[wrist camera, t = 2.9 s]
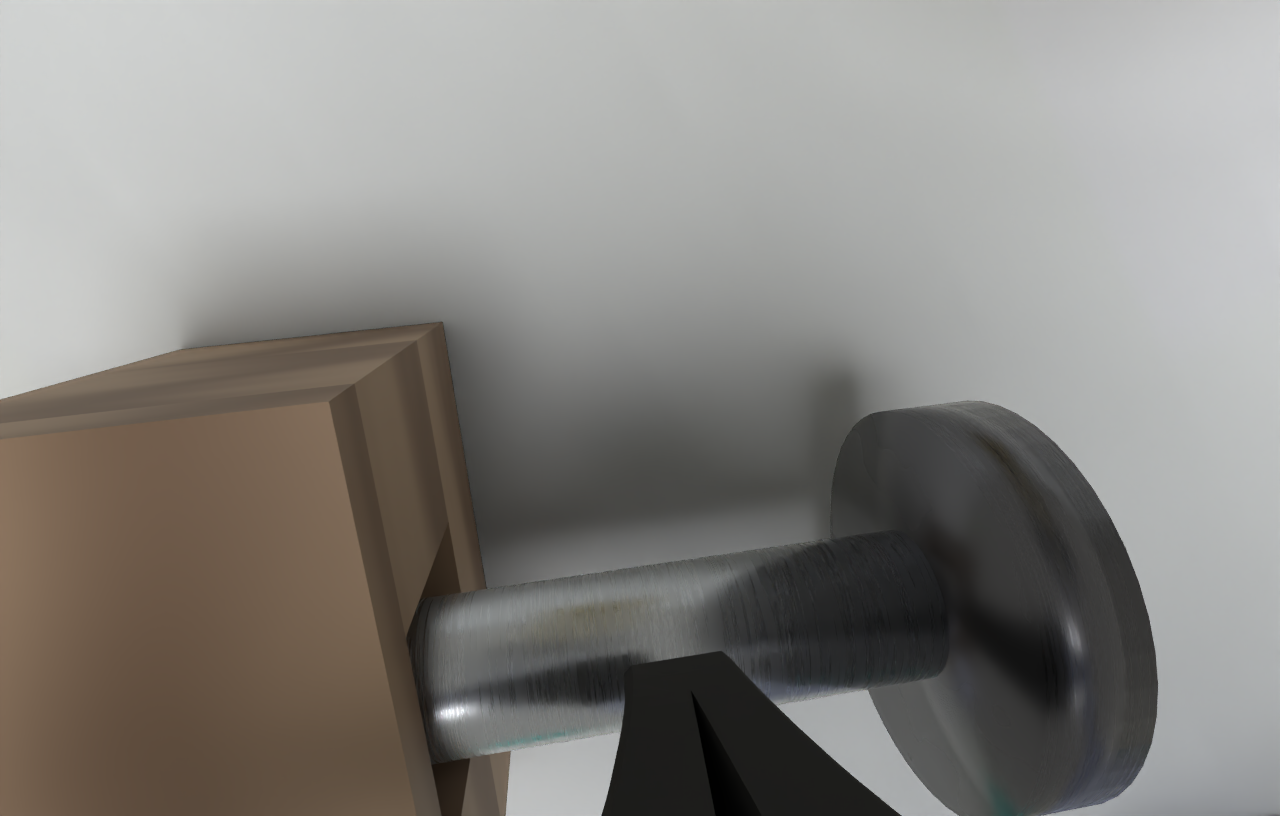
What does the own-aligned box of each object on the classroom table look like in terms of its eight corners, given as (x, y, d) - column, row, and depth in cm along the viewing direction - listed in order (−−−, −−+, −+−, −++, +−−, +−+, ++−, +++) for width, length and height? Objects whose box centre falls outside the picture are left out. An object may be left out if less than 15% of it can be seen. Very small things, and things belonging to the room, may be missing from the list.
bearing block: (442, 322, 14) (329, 401, 7) (511, 740, 16) (481, 1120, 9) (179, 349, 13) (-244, 466, 6) (292, 778, 15) (82, 1210, 9)
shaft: (897, 369, 14) (1183, 471, 7) (896, 646, 15) (1133, 918, 9) (-73, 487, 12) (-757, 750, 6) (39, 787, 13) (-401, 1254, 7)
